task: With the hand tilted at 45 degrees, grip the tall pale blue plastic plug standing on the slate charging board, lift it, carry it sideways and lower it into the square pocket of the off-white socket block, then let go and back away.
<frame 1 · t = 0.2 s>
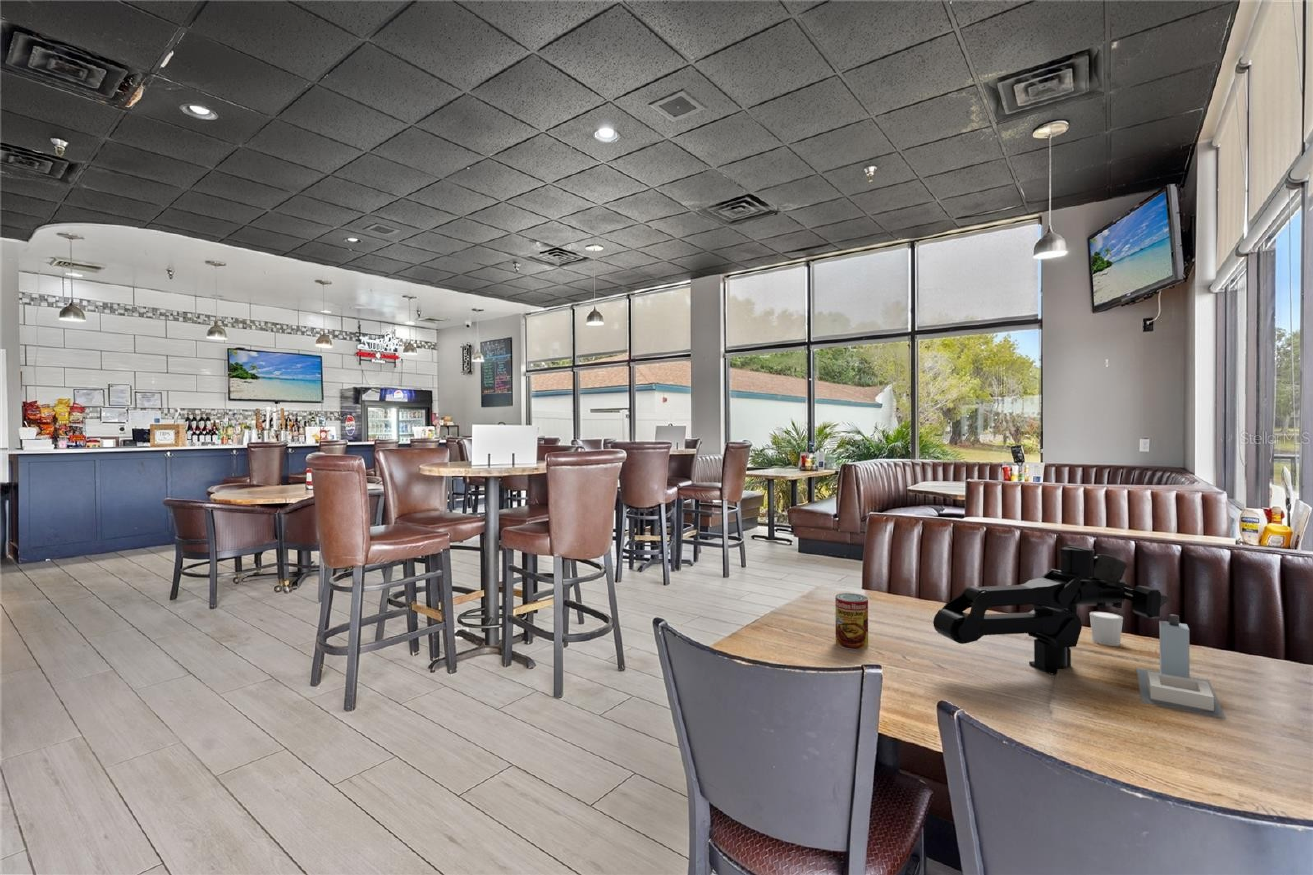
hand: (1149, 592, 139), 16 cm above the table, tool horizontal, fingers open, 9 cm apart
canned food: (851, 645, 152), on the table
socket: (1179, 699, 117), resting on charging board
white cup: (1106, 643, 154), on the table
plug: (1174, 682, 125), point 1 cm above the table, touching charging board
charging board: (1176, 695, 121), on the table
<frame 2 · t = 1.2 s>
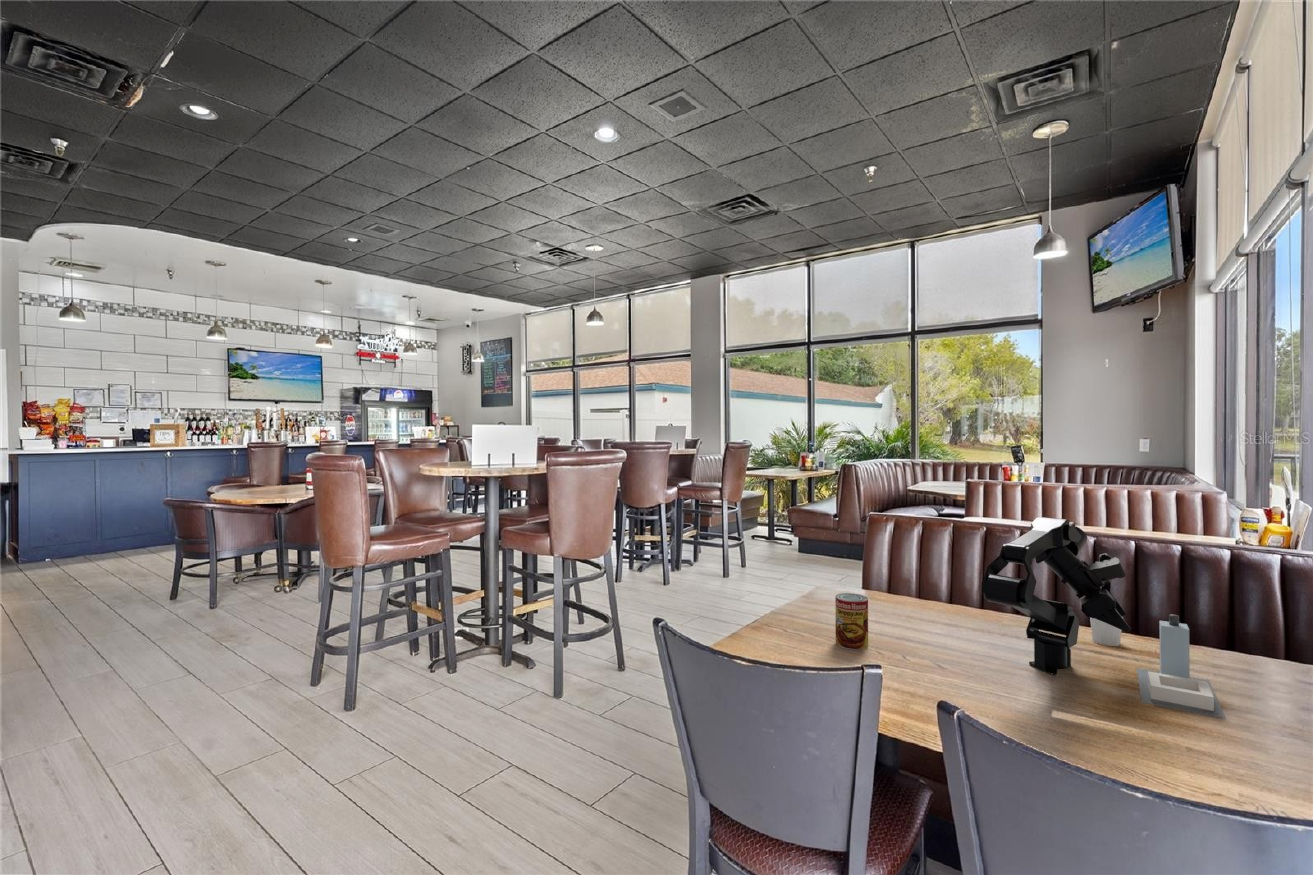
hand: (1126, 622, 132), 11 cm above the table, tool tilted 45°, fingers open, 9 cm apart
nothing on the table moved.
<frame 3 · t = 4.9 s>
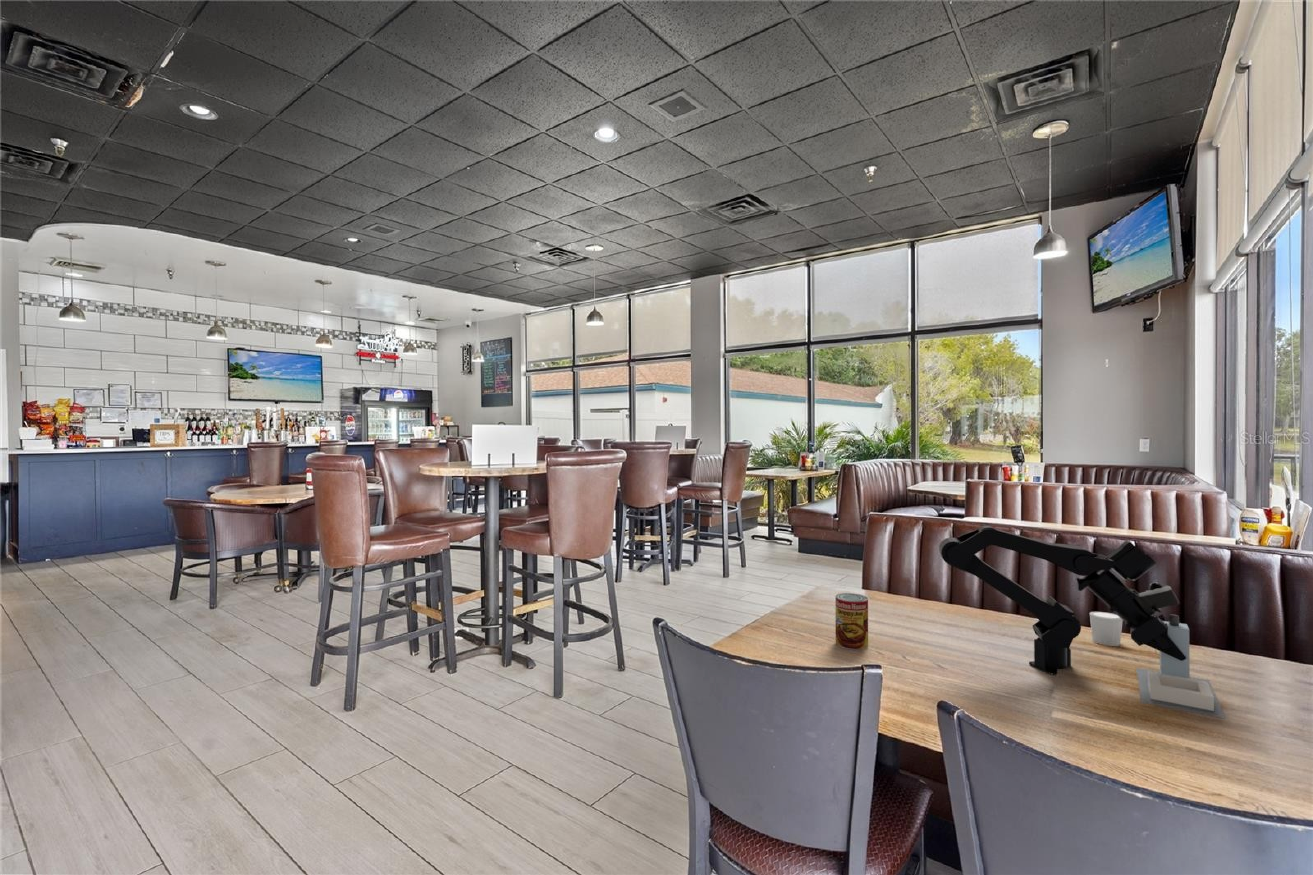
hand: (1183, 656, 125), 7 cm above the table, tool tilted 45°, fingers closed on plug, 4 cm apart
plug: (1174, 682, 125), point 1 cm above the table, touching charging board, gripper
everything else where it was.
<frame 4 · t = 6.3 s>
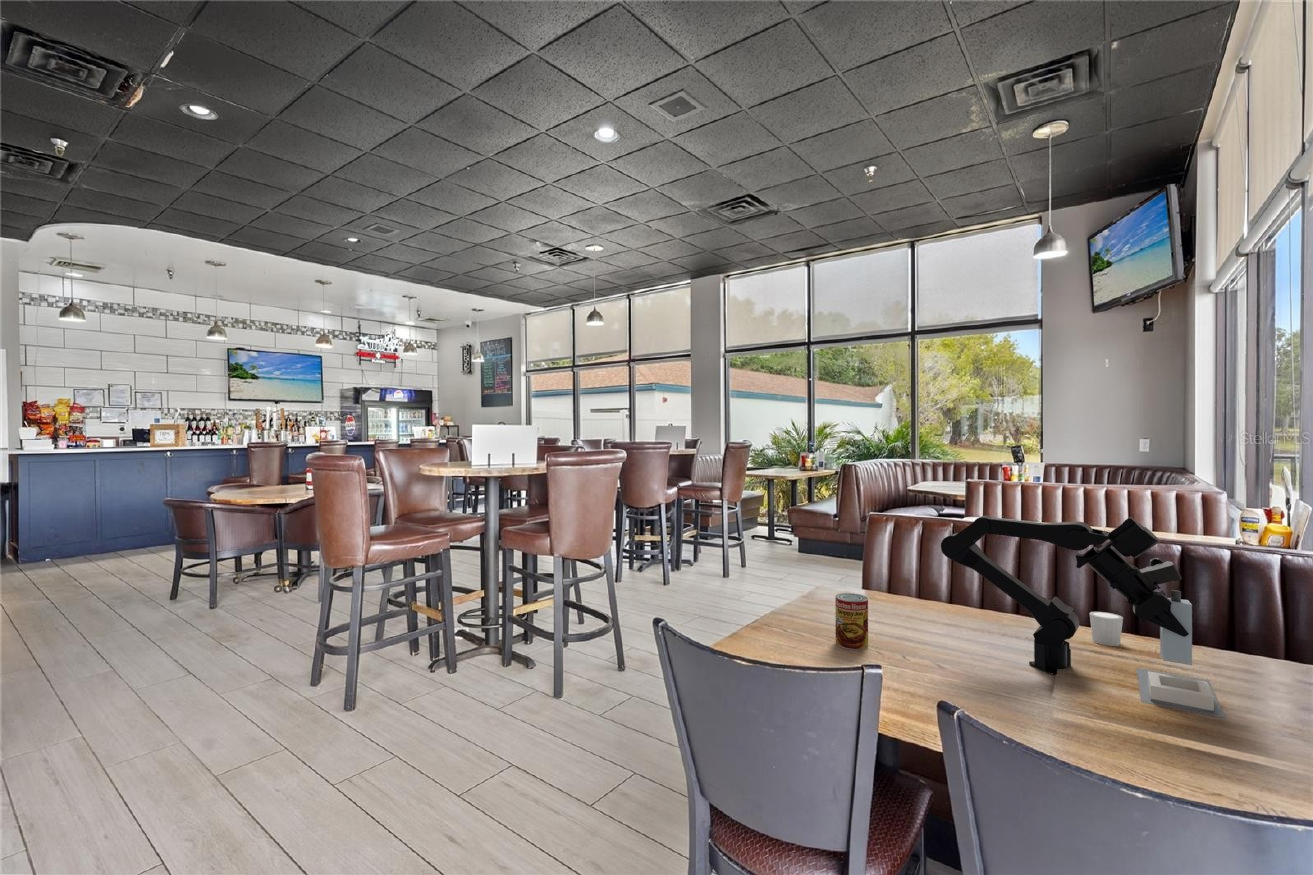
hand: (1184, 632, 122), 12 cm above the table, tool tilted 45°, fingers closed on plug, 4 cm apart
plug: (1175, 659, 123), point 7 cm above the table, touching gripper
everything else where it was.
when the fingers open (8 cm above the table, at t = 8.1 s): plug stays where it is, resting on socket.
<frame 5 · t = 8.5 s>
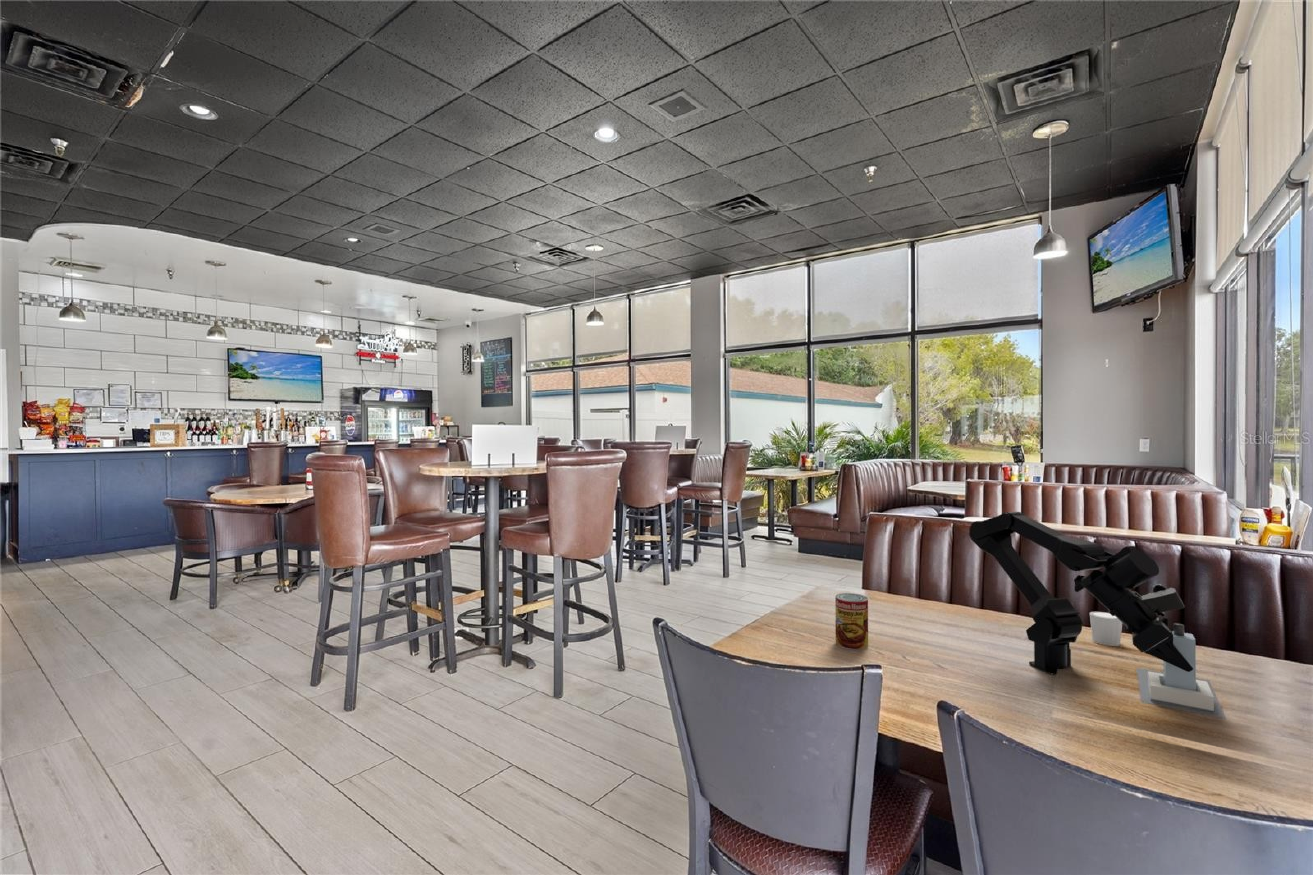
hand: (1188, 663, 117), 8 cm above the table, tool tilted 45°, fingers open, 9 cm apart
plug: (1179, 696, 117), point 1 cm above the table, touching socket
everything else where it was.
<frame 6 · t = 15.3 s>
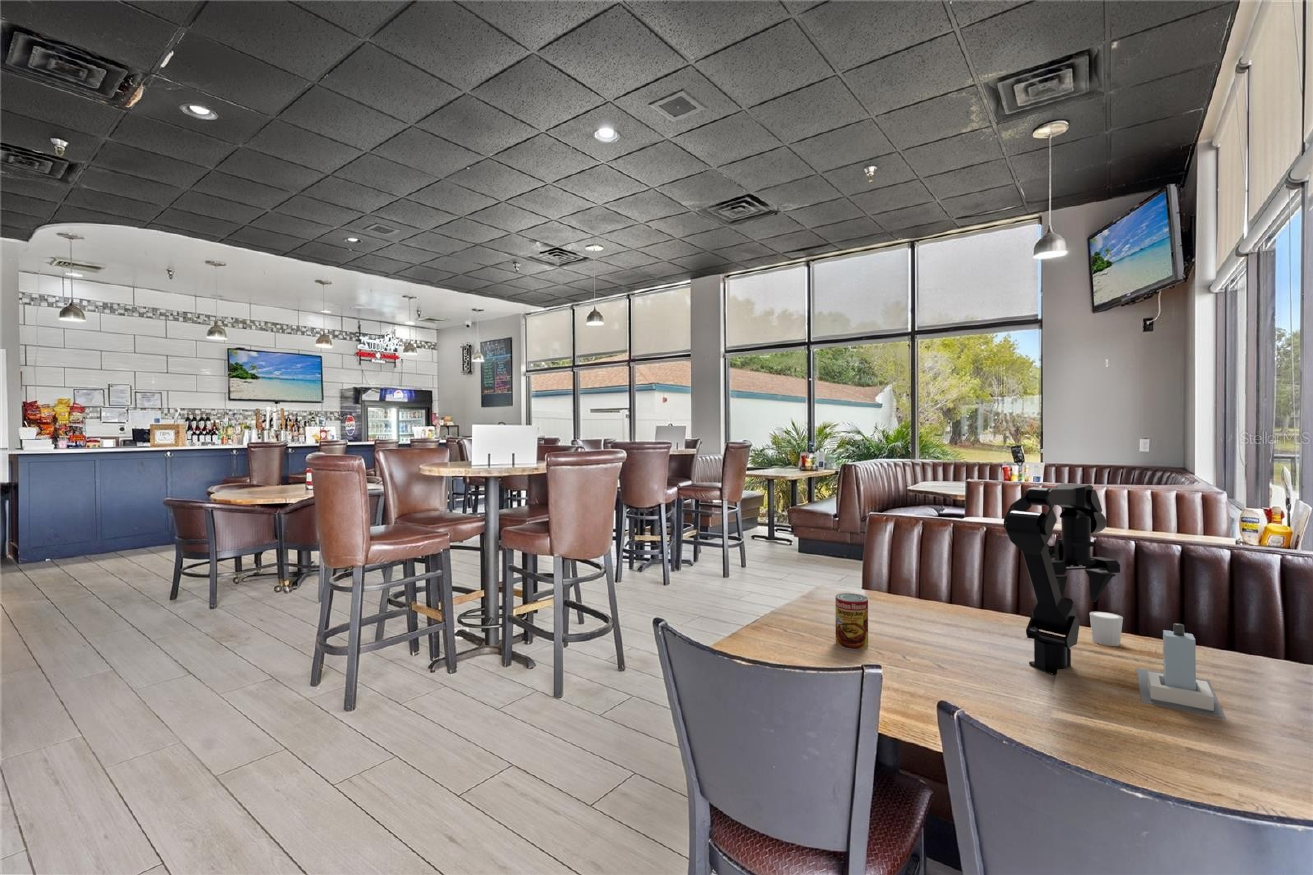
hand: (1076, 601, 143), 13 cm above the table, tool pointing down, fingers open, 9 cm apart
nothing on the table moved.
at the end: plug 0.0 cm off-centre on the socket, point 0.5 cm above the socket's base; plug tilted 0°; the gripper is holding nothing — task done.
